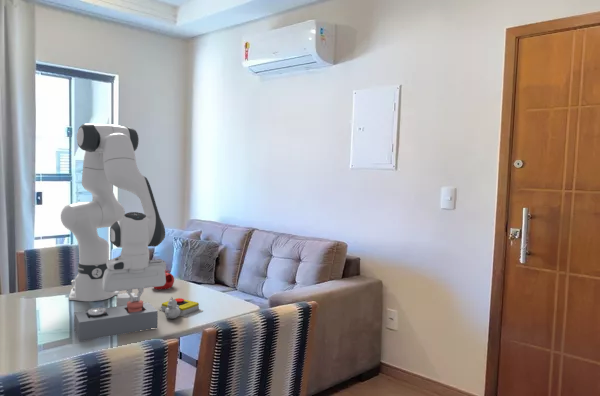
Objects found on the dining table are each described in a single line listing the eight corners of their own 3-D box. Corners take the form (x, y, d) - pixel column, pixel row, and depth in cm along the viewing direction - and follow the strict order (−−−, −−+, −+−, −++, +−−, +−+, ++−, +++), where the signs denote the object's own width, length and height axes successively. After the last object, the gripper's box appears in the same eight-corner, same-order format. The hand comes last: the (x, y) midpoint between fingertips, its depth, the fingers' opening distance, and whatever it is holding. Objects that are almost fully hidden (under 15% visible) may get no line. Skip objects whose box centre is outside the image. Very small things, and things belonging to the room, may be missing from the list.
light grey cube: (133, 313, 174) (133, 297, 173) (116, 314, 172) (116, 298, 172) (134, 308, 179) (134, 292, 179) (117, 309, 178) (117, 293, 177)
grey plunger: (87, 323, 154) (87, 308, 154) (104, 321, 157) (104, 306, 157) (89, 328, 150) (89, 313, 149) (107, 326, 153) (107, 311, 152)
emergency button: (175, 294, 186) (204, 300, 179) (175, 305, 186) (204, 311, 179) (157, 299, 178) (187, 306, 170) (157, 311, 178) (187, 318, 171)
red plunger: (125, 315, 161) (125, 301, 160) (141, 313, 163) (141, 299, 163) (128, 320, 156) (128, 305, 156) (144, 317, 159) (145, 303, 159)
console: (74, 330, 155) (74, 312, 155) (148, 318, 168) (148, 302, 167) (79, 341, 146) (79, 322, 145) (157, 328, 159) (157, 311, 158)
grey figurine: (161, 319, 168) (161, 297, 167) (171, 313, 174) (171, 292, 173) (174, 321, 166) (174, 299, 166) (184, 315, 173) (184, 294, 172)
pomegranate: (151, 286, 212) (151, 265, 211) (174, 285, 214) (174, 264, 213) (149, 291, 202) (149, 270, 201) (174, 290, 204) (173, 269, 204)
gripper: (163, 256, 167) (162, 295, 168) (101, 261, 156) (101, 303, 157) (168, 260, 161) (168, 299, 162) (105, 265, 150) (105, 308, 151)
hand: (134, 301), depth 159 cm, fingers closed
